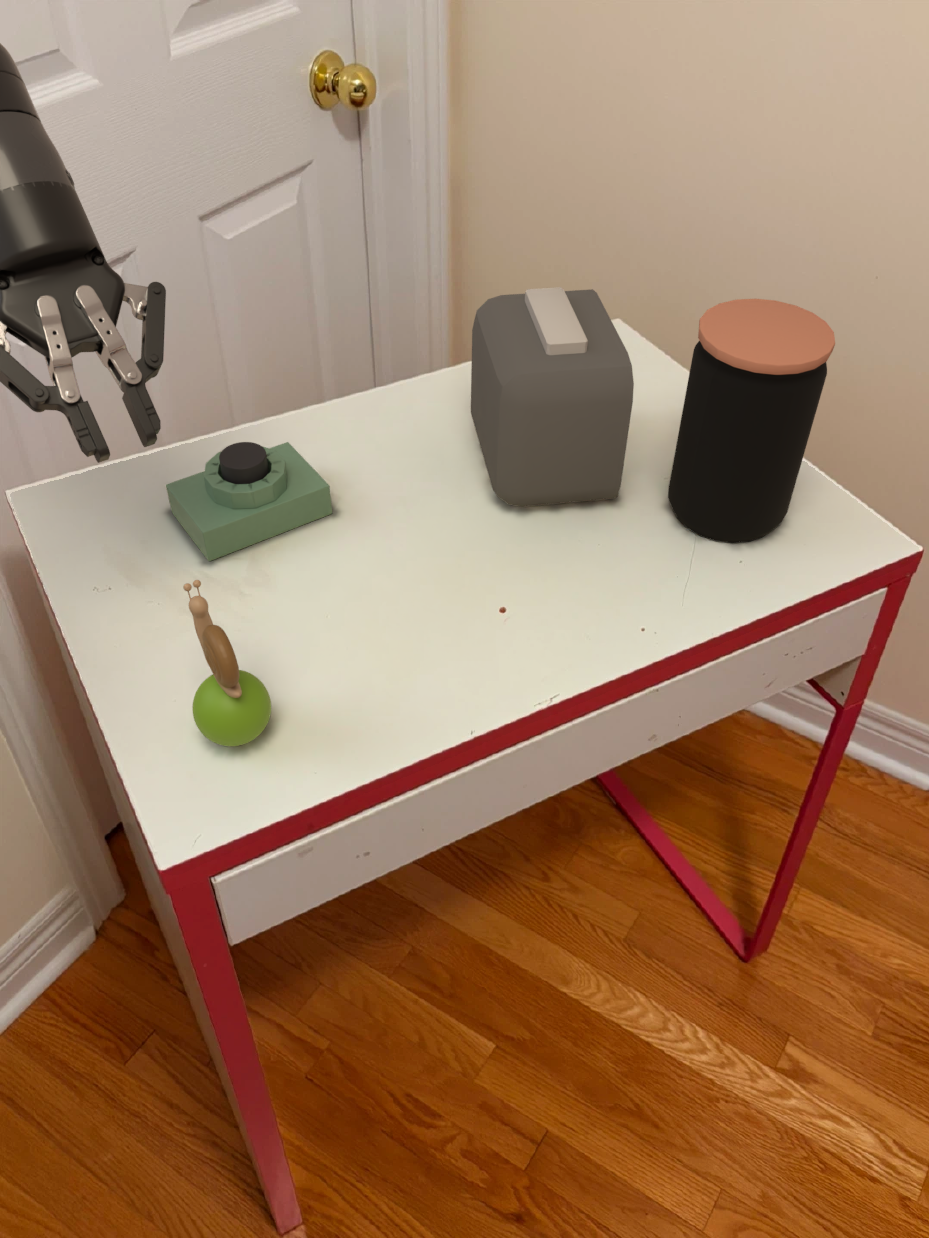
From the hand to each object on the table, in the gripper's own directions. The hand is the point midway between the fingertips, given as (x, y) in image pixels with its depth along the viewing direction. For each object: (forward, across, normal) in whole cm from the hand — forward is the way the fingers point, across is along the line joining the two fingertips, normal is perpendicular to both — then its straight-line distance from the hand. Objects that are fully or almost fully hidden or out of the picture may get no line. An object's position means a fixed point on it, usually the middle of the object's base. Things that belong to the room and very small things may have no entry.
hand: (126, 450), depth 70 cm
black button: (+2, -12, -17) cm, 21 cm away
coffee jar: (+21, -48, -4) cm, 53 cm away
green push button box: (+5, -12, -20) cm, 24 cm away
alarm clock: (+11, -38, -15) cm, 42 cm away
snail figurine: (+21, 0, -5) cm, 21 cm away
